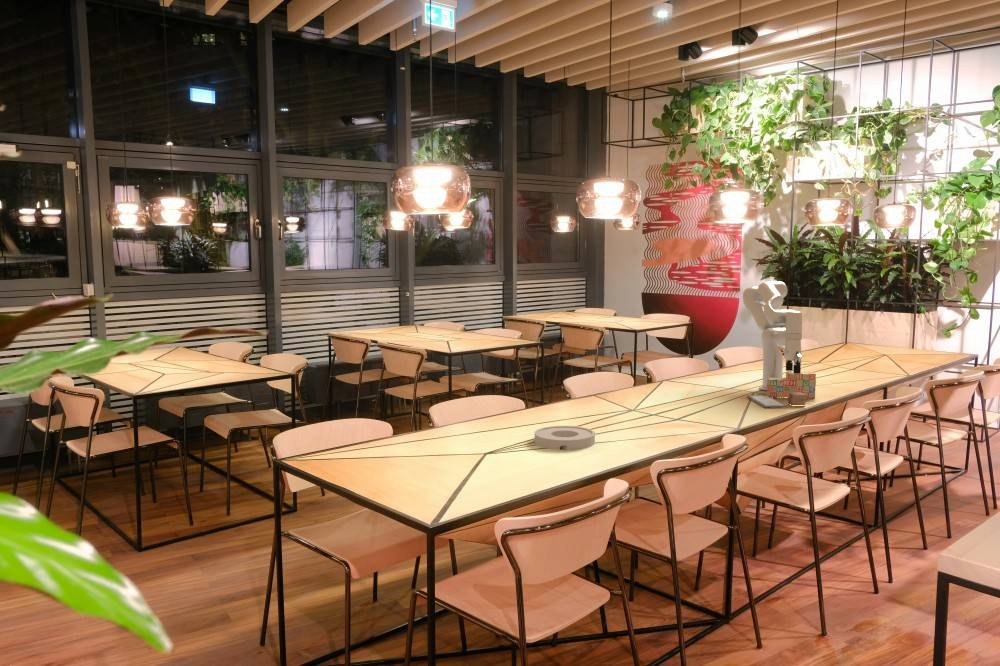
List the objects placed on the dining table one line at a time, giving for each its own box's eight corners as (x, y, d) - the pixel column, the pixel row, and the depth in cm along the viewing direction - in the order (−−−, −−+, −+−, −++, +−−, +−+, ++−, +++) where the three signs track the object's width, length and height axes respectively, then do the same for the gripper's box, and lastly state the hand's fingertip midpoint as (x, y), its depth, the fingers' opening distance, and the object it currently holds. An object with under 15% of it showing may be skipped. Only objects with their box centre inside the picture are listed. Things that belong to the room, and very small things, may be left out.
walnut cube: (788, 404, 359) (788, 392, 359) (800, 404, 359) (800, 392, 359) (792, 406, 354) (793, 394, 353) (804, 406, 354) (805, 394, 353)
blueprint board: (747, 397, 376) (747, 395, 376) (767, 397, 376) (767, 395, 376) (764, 408, 351) (764, 405, 351) (786, 407, 351) (786, 405, 351)
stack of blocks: (769, 398, 373) (770, 373, 372) (766, 396, 379) (766, 371, 378) (815, 398, 371) (816, 373, 370) (811, 396, 378) (812, 371, 376)
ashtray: (566, 432, 312) (566, 423, 312) (607, 443, 294) (608, 433, 293) (522, 442, 298) (522, 431, 298) (562, 454, 280) (562, 443, 279)
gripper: (779, 335, 380) (778, 369, 382) (792, 338, 363) (792, 374, 365) (794, 335, 380) (793, 369, 382) (808, 338, 363) (807, 374, 365)
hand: (793, 372), depth 373 cm, fingers open, 9 cm apart
